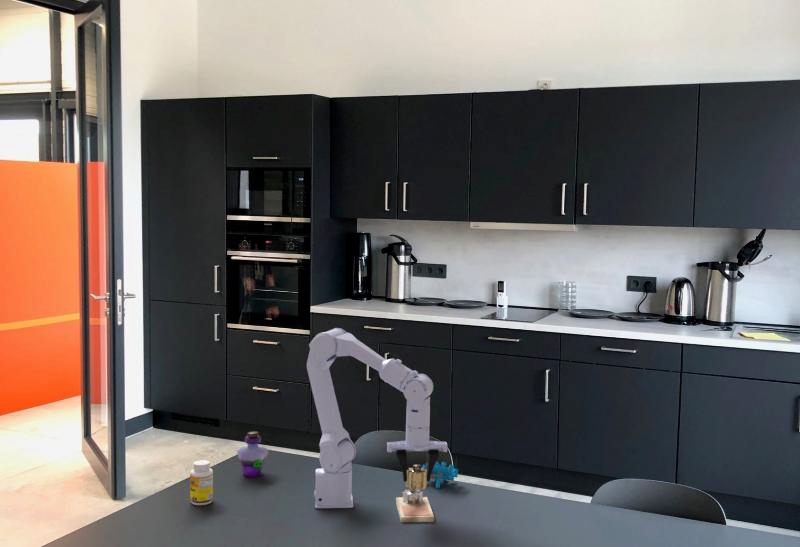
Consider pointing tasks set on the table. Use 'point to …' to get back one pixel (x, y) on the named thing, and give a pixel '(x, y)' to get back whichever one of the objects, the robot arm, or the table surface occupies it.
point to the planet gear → (416, 477)
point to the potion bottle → (252, 456)
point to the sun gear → (412, 496)
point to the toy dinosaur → (442, 472)
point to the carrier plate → (414, 511)
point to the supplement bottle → (201, 483)
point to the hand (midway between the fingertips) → (416, 480)
